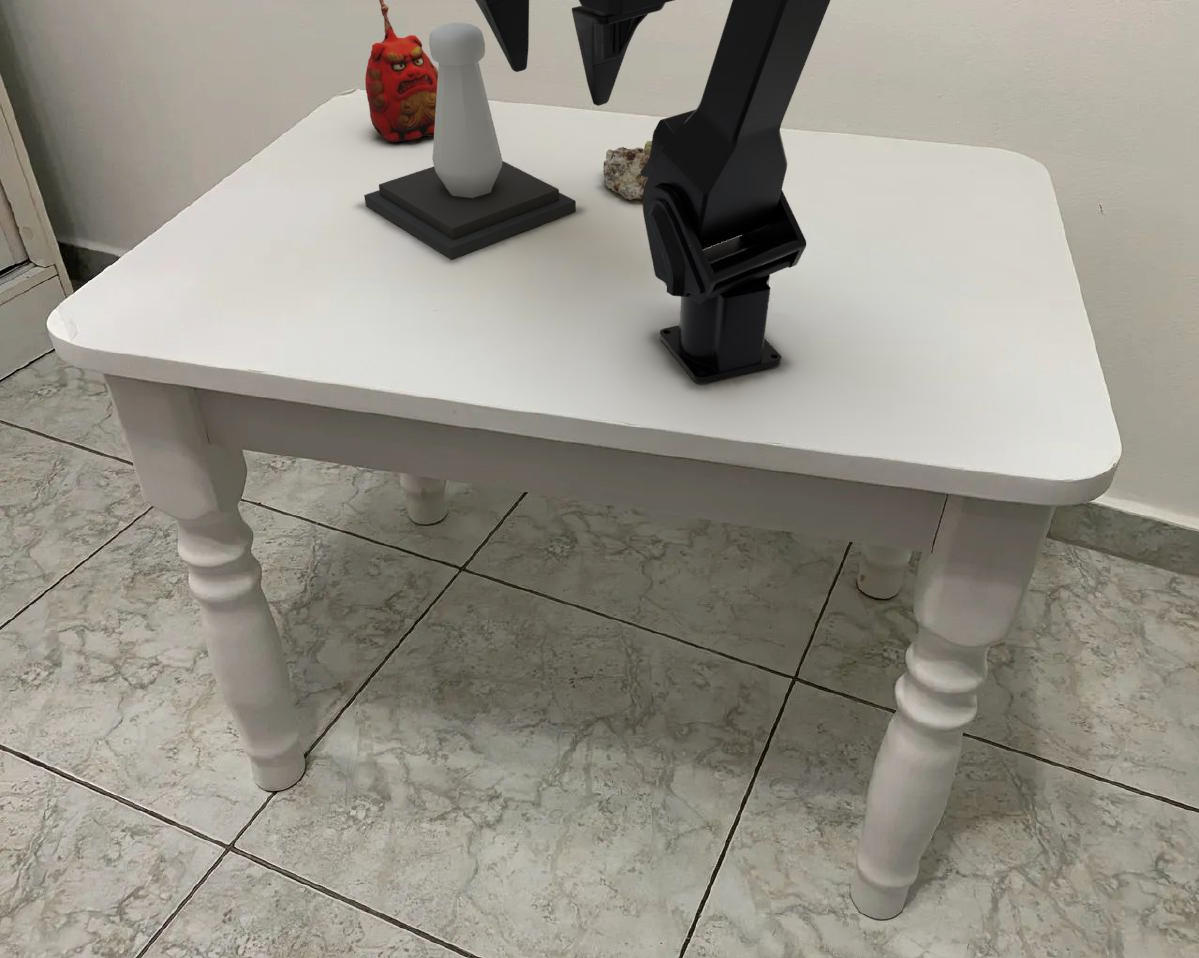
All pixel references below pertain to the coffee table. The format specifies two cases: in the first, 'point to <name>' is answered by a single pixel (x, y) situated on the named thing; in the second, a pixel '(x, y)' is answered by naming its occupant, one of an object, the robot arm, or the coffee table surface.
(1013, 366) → the coffee table surface
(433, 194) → the pad stack
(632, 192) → the mineral rock
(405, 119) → the red clay folk toy
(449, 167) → the salt shaker
